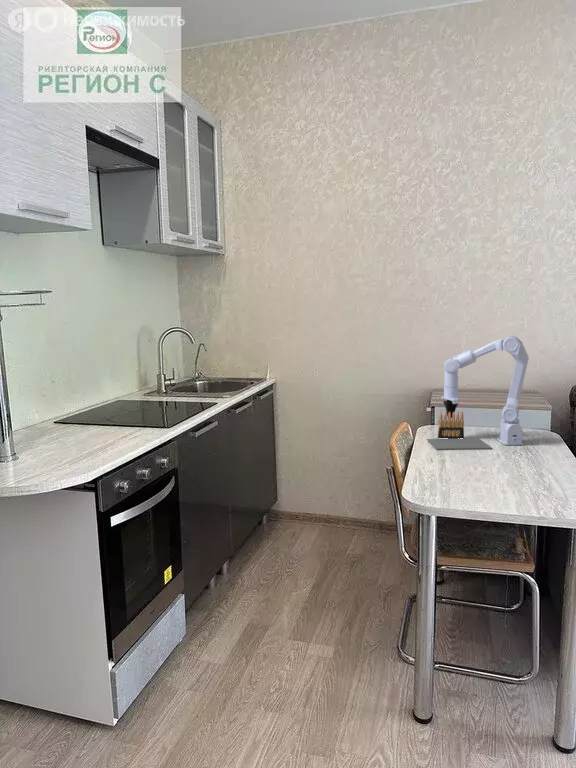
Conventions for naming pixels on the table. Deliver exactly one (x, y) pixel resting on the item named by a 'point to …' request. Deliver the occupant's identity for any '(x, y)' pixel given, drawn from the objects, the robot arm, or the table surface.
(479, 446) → the mat
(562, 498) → the table surface
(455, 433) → the ammunition clip
